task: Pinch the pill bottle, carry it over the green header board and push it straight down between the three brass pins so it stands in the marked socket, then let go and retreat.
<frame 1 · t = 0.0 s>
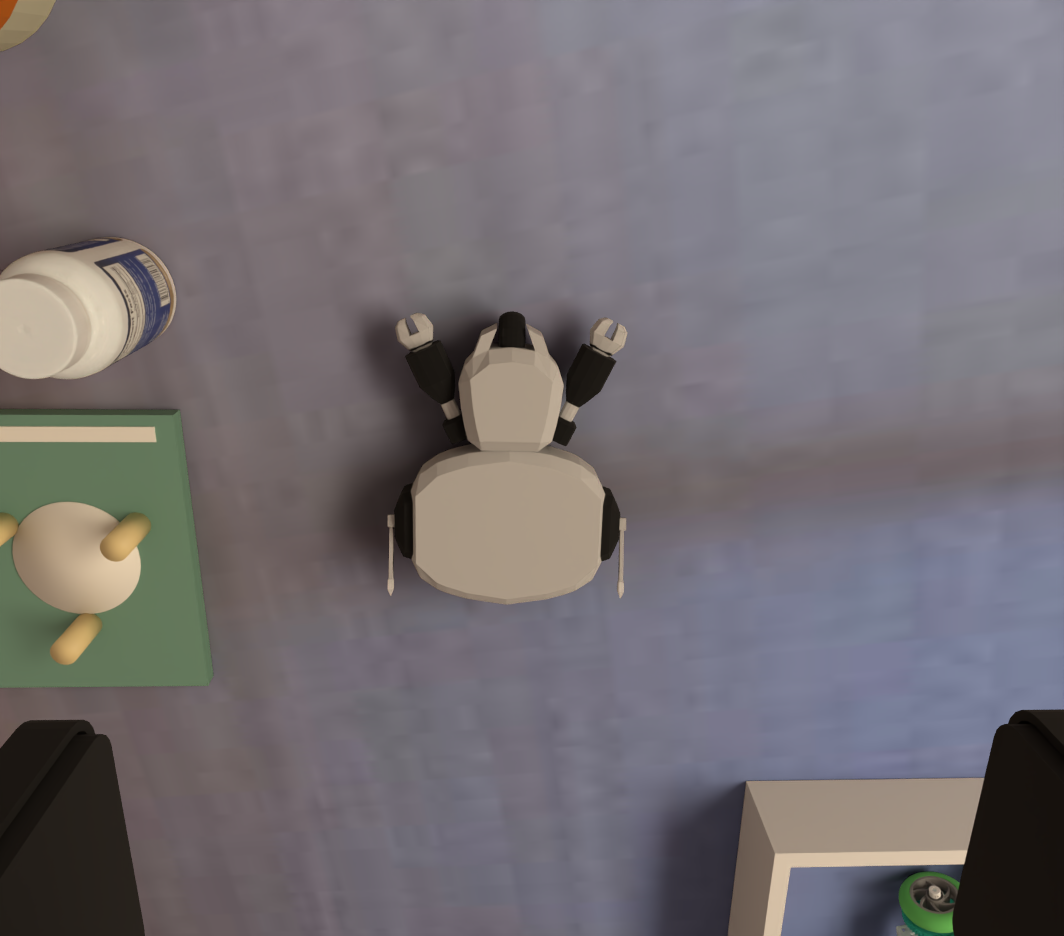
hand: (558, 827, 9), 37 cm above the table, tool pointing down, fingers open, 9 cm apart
robot toy: (508, 444, 47), on the table
header board: (85, 550, 48), on the table
pill bottle: (125, 291, 43), on the table
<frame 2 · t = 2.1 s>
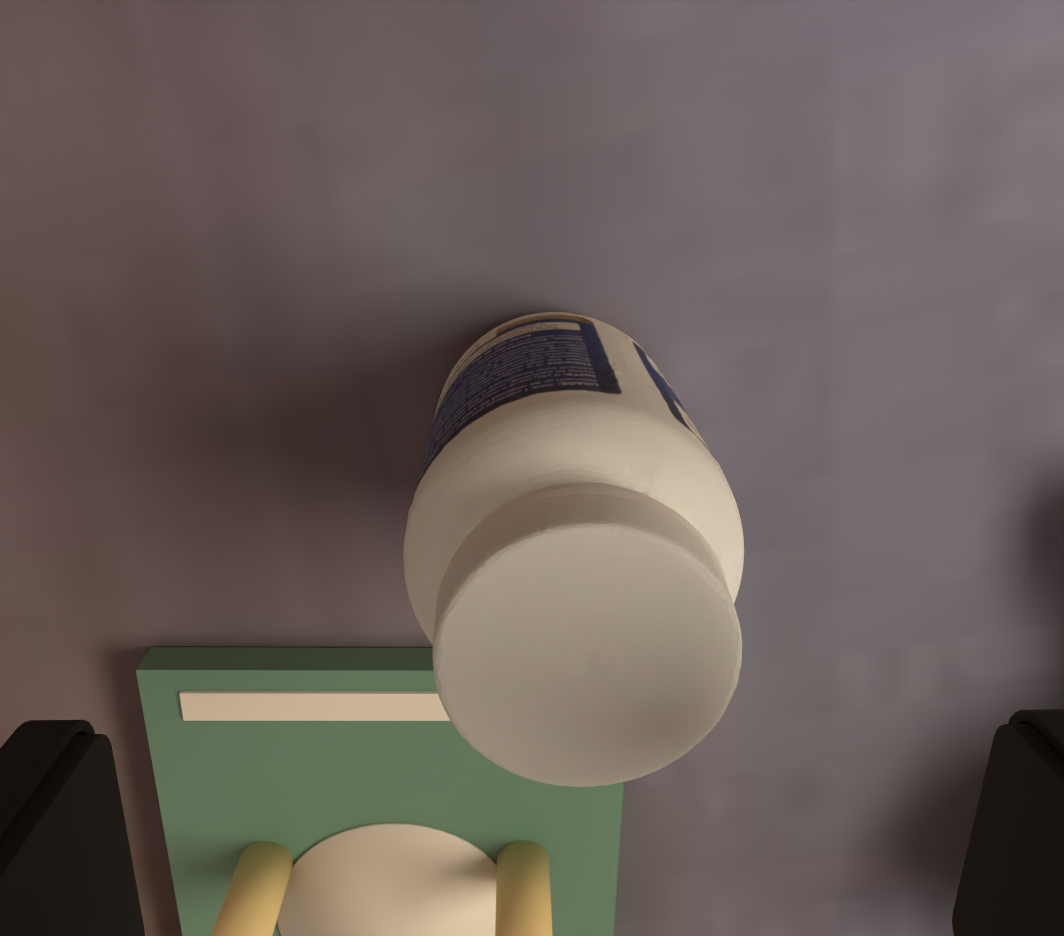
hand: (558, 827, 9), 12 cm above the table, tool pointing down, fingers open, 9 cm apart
header board: (402, 886, 25), on the table
pill bottle: (553, 421, 20), on the table
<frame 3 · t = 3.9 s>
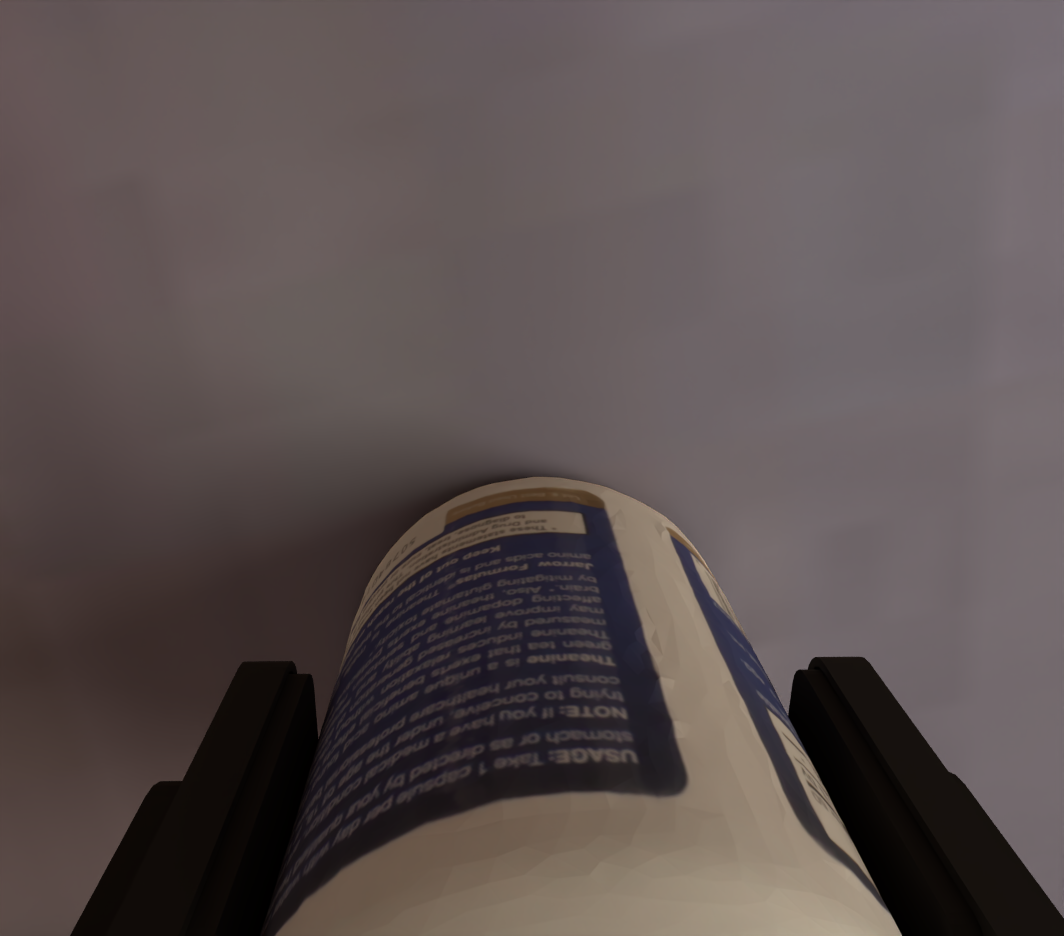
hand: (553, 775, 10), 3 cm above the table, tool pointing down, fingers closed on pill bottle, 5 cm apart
pill bottle: (540, 631, 13), on the table, touching gripper
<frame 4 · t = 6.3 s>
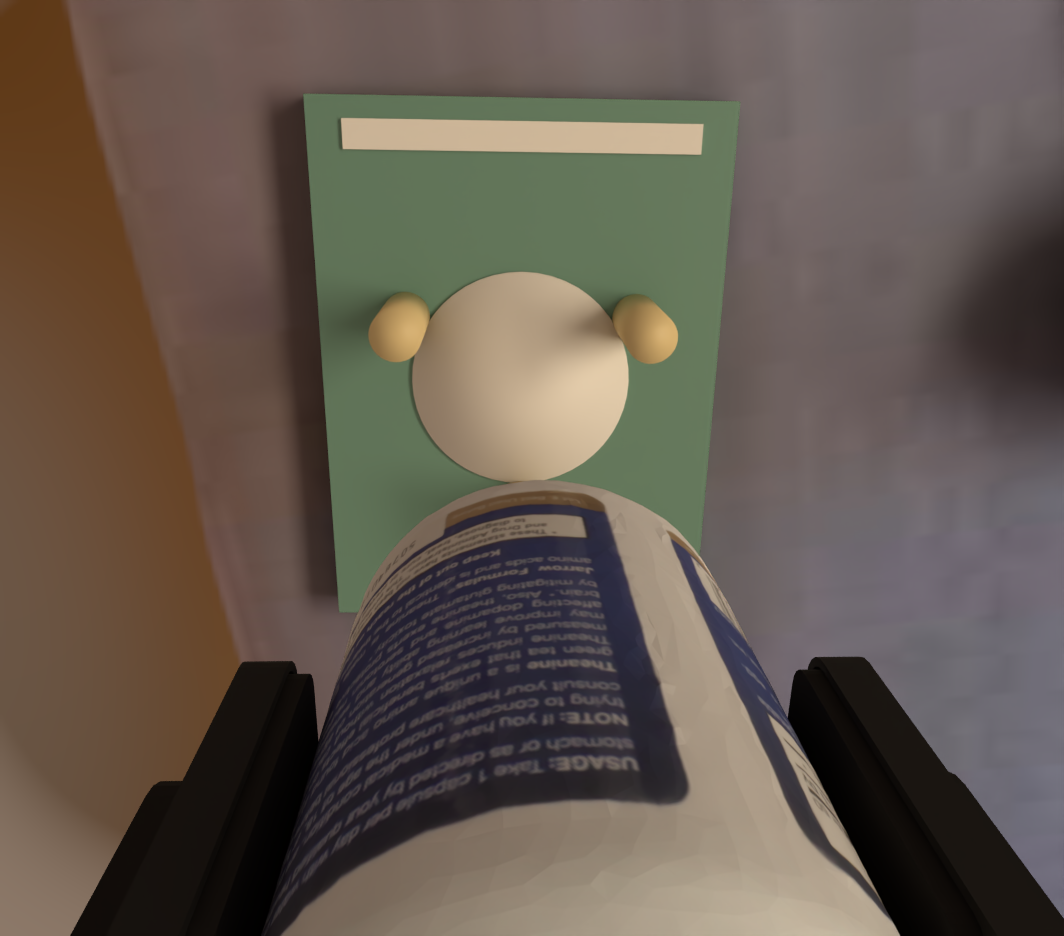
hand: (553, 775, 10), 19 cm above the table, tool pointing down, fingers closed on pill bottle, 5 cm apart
header board: (520, 373, 28), on the table
pill bottle: (540, 634, 13), point 16 cm above the table, touching gripper
when the fingers open (6 cm above the table, at t = 8.8 s): pill bottle drops 1 cm, resting on header board.
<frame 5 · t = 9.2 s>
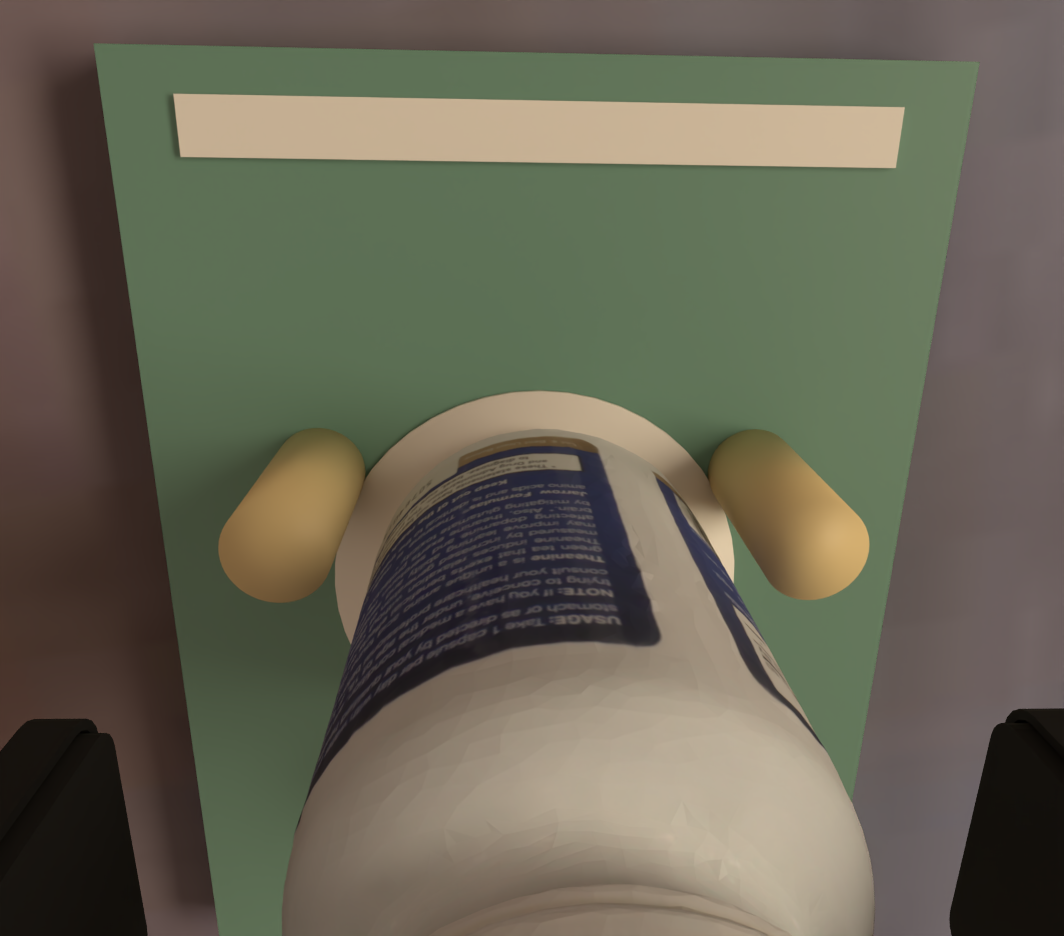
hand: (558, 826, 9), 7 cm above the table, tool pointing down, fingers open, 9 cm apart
header board: (533, 556, 16), on the table
pill bottle: (541, 571, 15), point 1 cm above the table, touching header board
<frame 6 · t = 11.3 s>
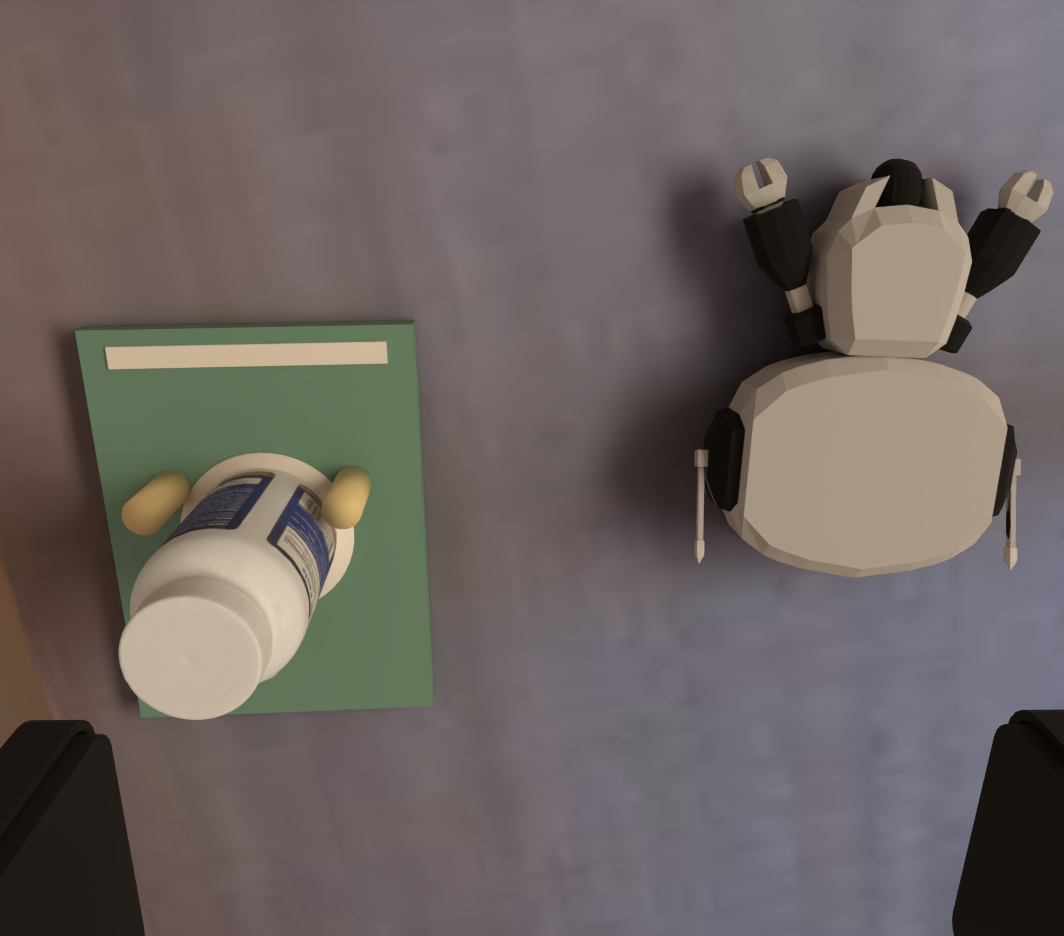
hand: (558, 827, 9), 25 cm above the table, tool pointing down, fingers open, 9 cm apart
robot toy: (840, 361, 35), on the table
header board: (274, 524, 35), on the table
pill bottle: (271, 529, 34), point 1 cm above the table, touching header board
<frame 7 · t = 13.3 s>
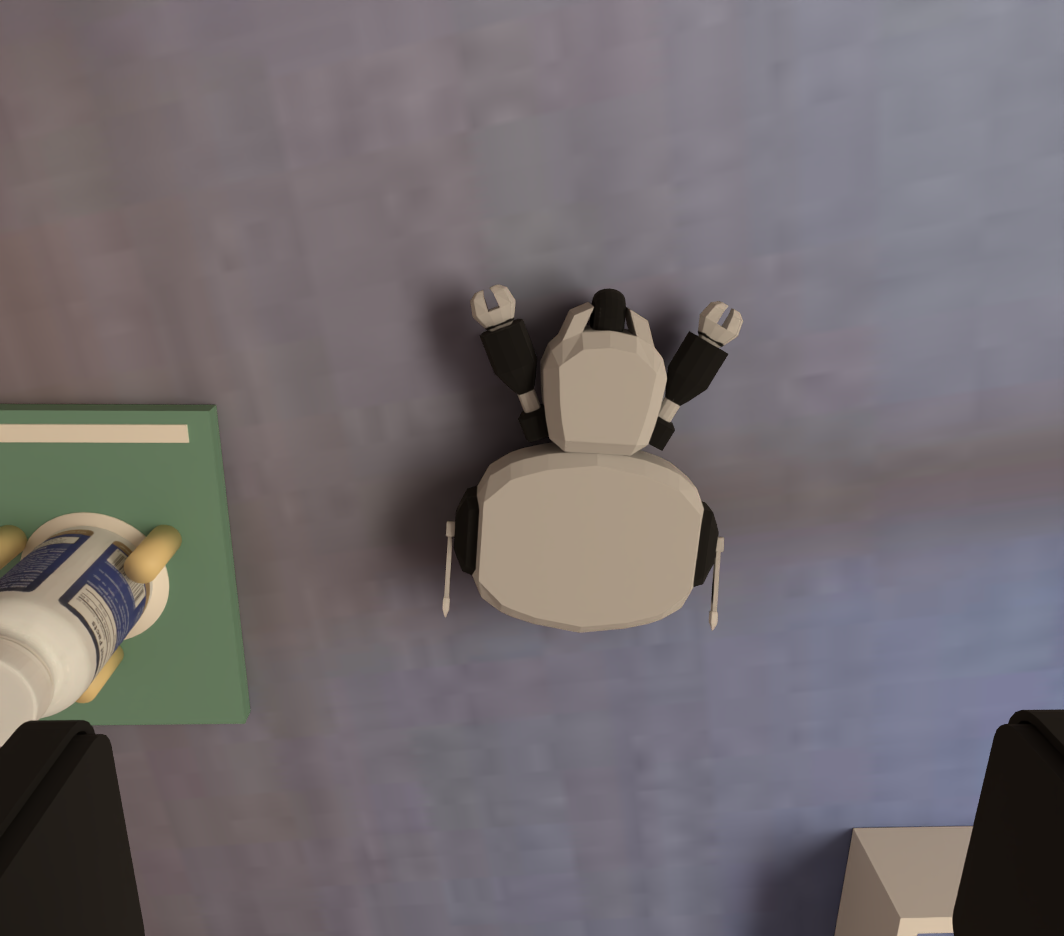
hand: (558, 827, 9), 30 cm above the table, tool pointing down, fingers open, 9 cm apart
robot toy: (586, 445, 40), on the table
header board: (104, 568, 41), on the table
pill bottle: (98, 574, 40), point 1 cm above the table, touching header board
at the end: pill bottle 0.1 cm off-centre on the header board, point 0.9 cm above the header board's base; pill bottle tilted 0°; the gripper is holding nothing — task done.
